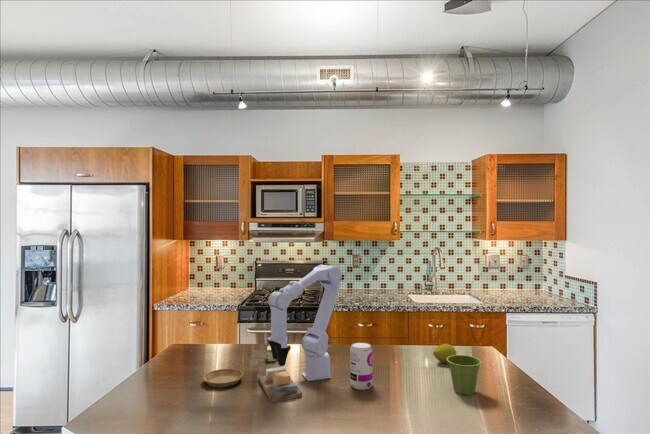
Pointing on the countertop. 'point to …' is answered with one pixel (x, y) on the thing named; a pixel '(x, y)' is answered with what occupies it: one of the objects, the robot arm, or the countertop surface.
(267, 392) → the flat wooden platform
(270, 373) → the grey rectangular block
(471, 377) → the plant pot
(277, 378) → the light brown cube
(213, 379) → the plant saucer
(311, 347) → the robot arm
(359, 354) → the supplement can
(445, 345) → the lemon
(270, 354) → the stacked layers on plate
